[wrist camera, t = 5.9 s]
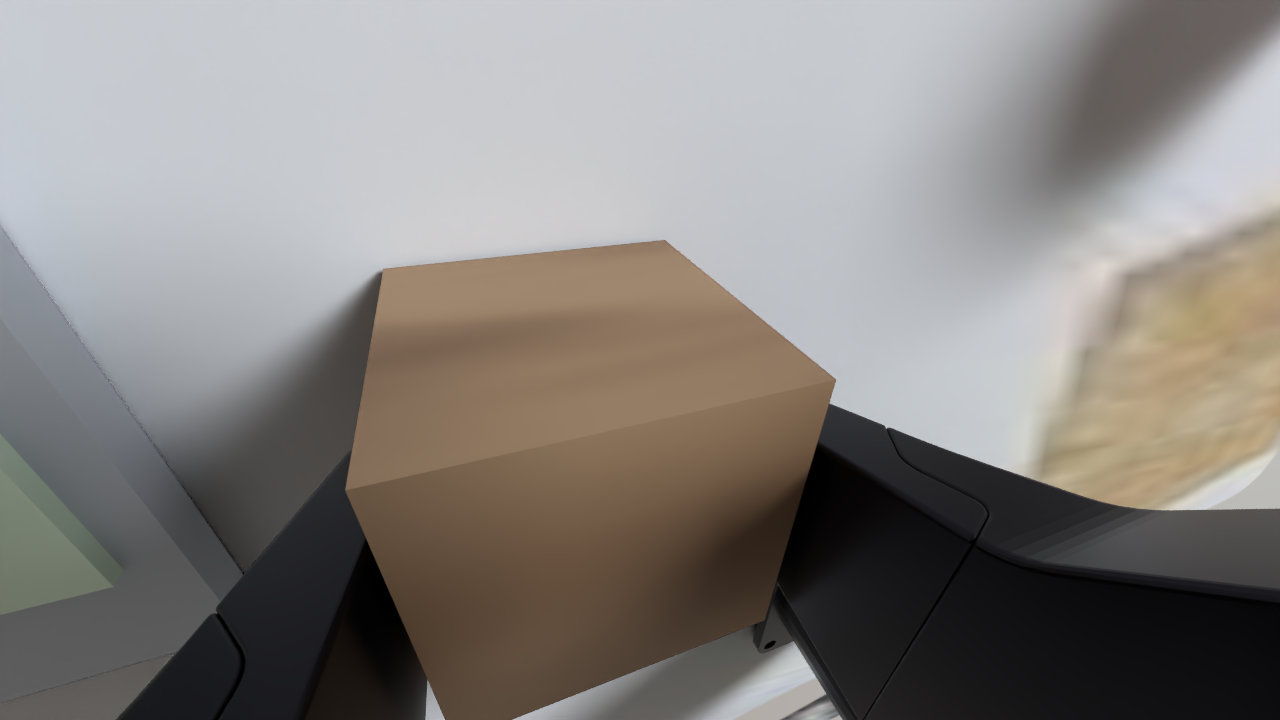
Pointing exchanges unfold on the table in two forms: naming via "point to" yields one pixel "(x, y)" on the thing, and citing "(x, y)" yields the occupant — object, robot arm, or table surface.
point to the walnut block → (575, 466)
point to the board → (86, 512)
